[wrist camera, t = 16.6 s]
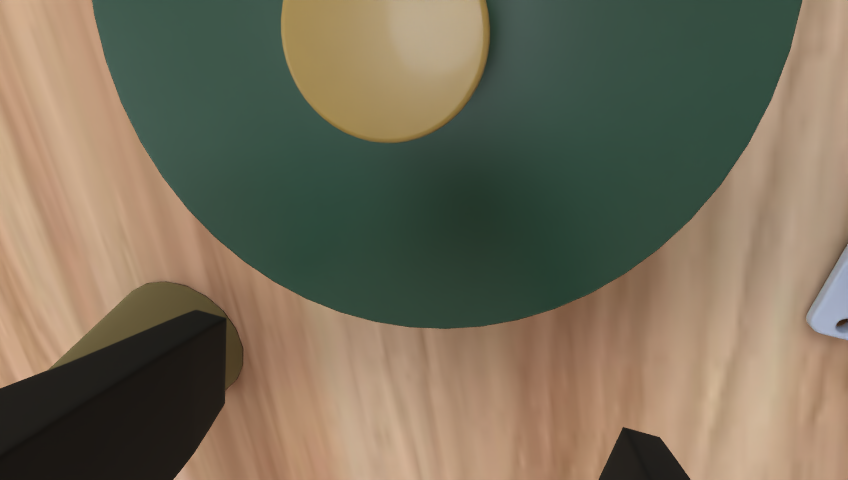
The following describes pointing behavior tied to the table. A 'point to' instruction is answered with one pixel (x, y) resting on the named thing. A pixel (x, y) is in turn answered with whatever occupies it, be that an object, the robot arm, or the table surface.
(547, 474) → the table surface
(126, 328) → the olive game pawn
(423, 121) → the lid
